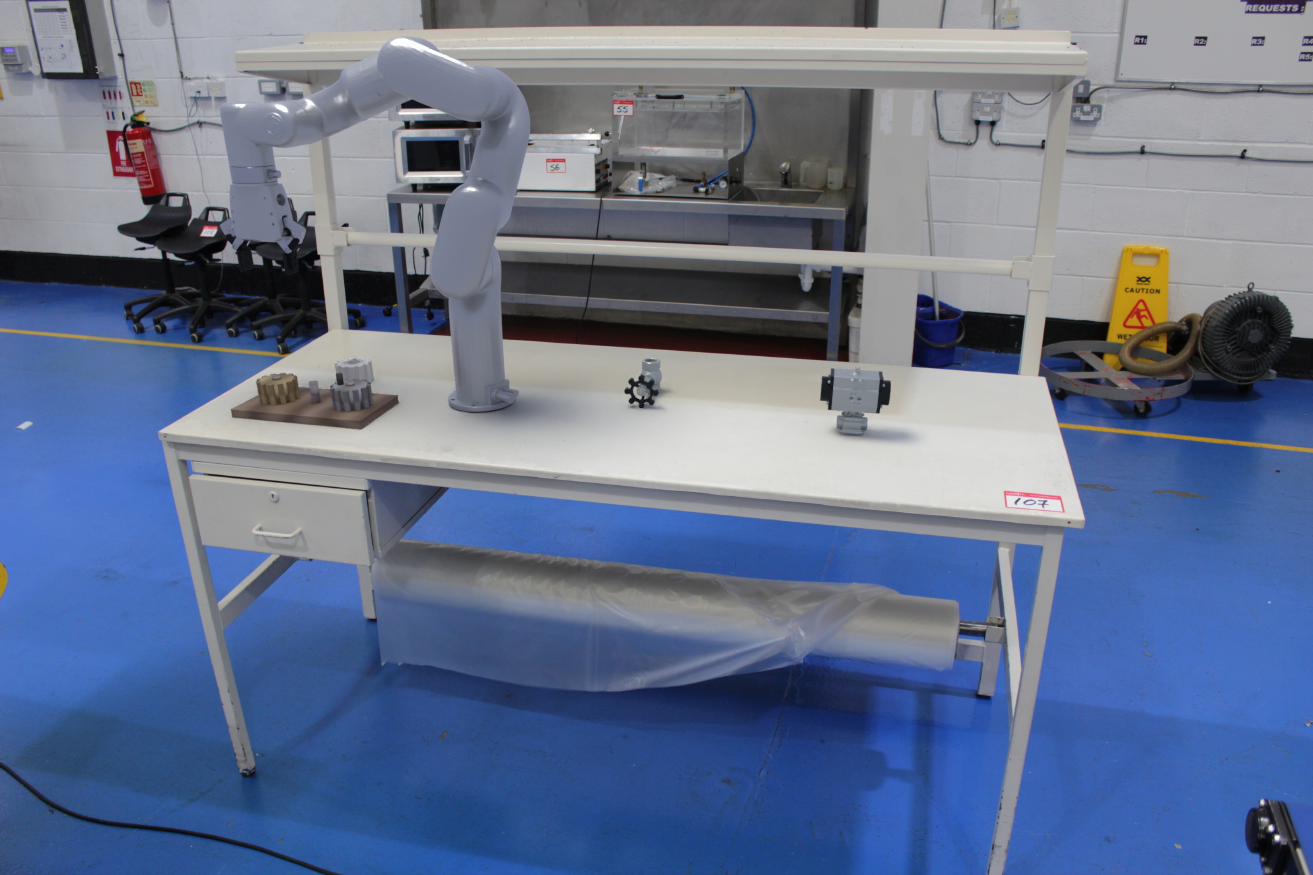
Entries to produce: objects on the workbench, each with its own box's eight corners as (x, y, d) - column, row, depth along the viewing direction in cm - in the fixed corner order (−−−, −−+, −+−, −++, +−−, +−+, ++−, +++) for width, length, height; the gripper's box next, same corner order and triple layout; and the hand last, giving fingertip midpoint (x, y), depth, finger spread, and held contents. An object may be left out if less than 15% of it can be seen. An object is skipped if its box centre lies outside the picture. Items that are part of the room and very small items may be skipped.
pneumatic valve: (817, 424, 159) (823, 361, 154) (884, 429, 157) (891, 365, 152) (817, 436, 154) (822, 371, 149) (885, 441, 152) (893, 375, 147)
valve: (637, 387, 178) (624, 407, 167) (636, 356, 175) (623, 374, 164) (669, 389, 177) (658, 410, 166) (669, 358, 174) (658, 377, 163)
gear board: (398, 402, 168) (394, 365, 166) (361, 429, 156) (355, 389, 153) (278, 392, 174) (272, 356, 171) (232, 417, 161) (224, 378, 158)
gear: (380, 379, 181) (378, 360, 180) (352, 388, 176) (350, 369, 174) (358, 373, 185) (356, 355, 183) (330, 382, 179) (327, 363, 178)
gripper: (309, 175, 157) (322, 271, 163) (227, 172, 161) (243, 265, 168) (282, 180, 150) (297, 279, 157) (197, 176, 154) (215, 273, 161)
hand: (269, 272), depth 162 cm, fingers open, 9 cm apart
